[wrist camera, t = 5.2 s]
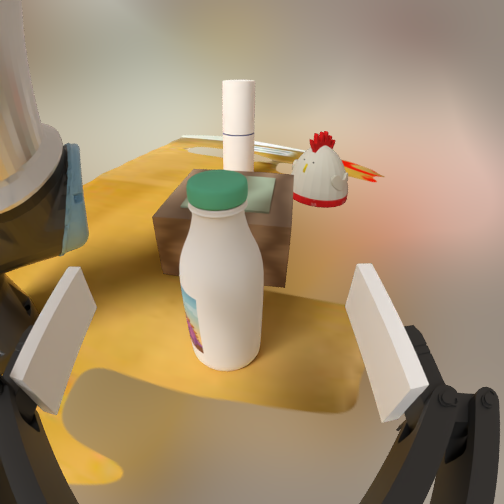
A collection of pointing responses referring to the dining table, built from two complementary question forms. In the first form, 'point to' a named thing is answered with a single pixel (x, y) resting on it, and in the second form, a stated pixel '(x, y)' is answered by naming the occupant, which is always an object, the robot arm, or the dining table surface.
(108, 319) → the dining table surface
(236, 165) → the cylindrical container
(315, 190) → the kitchen timer
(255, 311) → the milk bottle
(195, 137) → the dining table surface
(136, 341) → the dining table surface
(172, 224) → the walnut stand
